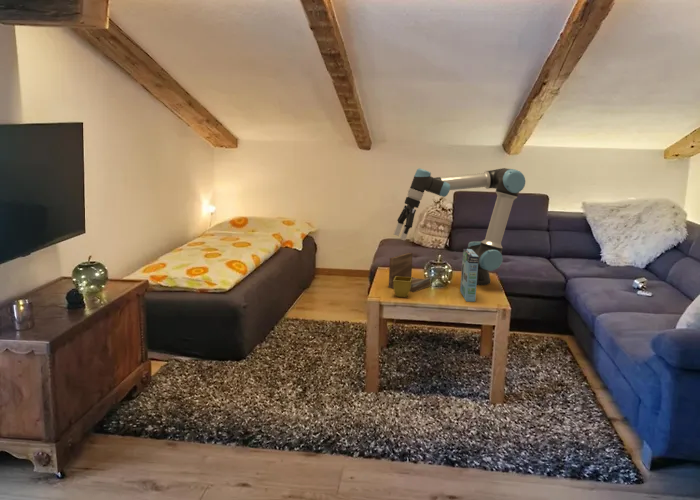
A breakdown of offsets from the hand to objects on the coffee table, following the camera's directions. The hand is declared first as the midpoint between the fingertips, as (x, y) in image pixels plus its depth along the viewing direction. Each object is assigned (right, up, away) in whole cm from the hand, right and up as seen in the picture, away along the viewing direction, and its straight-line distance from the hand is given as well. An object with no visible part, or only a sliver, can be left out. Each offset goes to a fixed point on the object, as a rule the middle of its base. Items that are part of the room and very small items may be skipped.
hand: (399, 237), depth 316 cm
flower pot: (+1, -30, -7) cm, 31 cm away
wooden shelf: (+8, -26, +13) cm, 30 cm away
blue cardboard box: (+34, -30, -5) cm, 46 cm away
